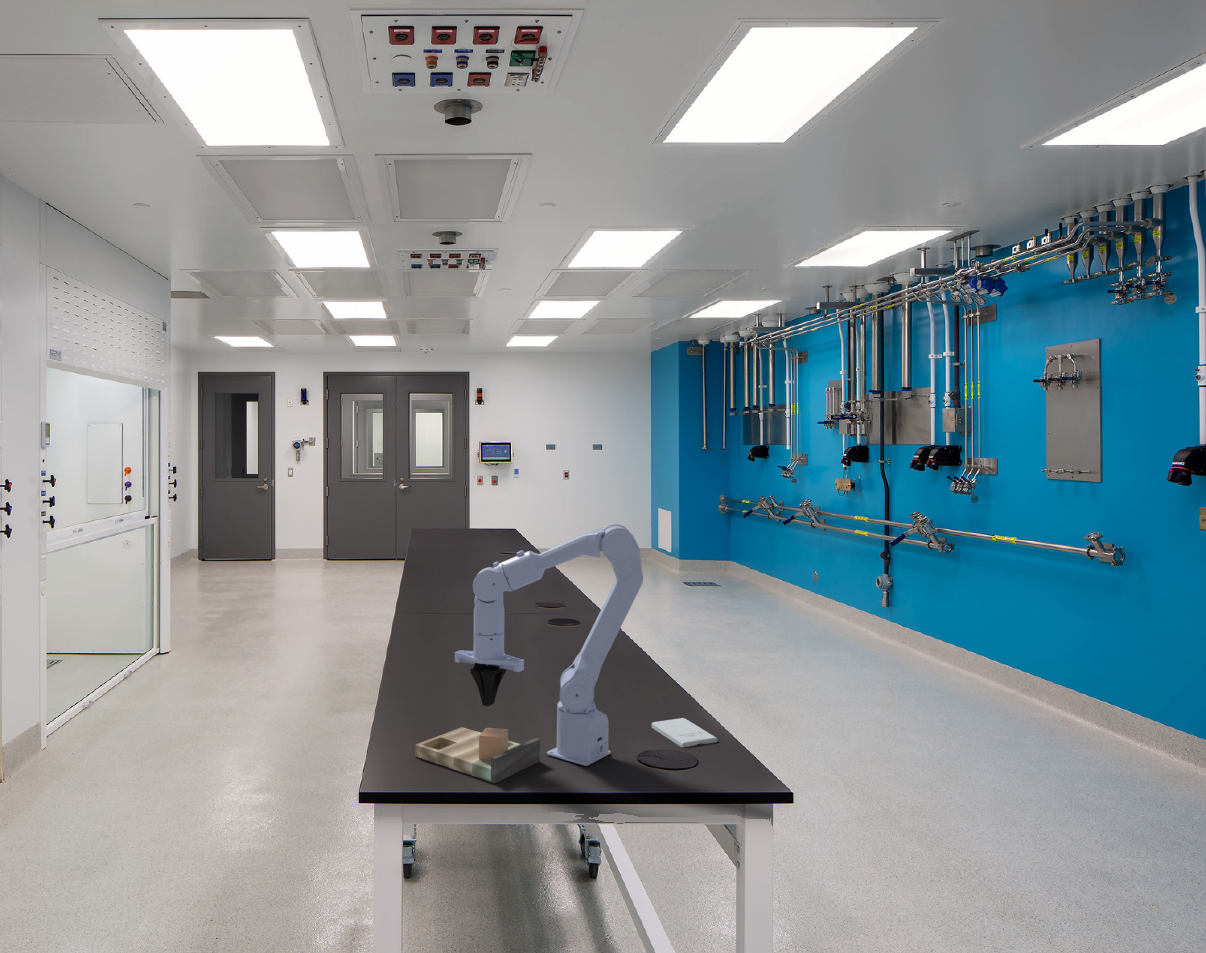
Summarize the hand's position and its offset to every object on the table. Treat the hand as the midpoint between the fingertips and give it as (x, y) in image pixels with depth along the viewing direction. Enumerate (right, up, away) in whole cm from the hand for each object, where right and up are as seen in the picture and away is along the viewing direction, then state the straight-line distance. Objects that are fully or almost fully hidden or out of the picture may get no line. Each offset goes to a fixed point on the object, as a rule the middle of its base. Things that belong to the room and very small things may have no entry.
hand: (488, 704), depth 145 cm
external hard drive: (+38, -11, +13) cm, 41 cm away
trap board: (-2, -9, -2) cm, 10 cm away
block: (+2, -7, -6) cm, 10 cm away
